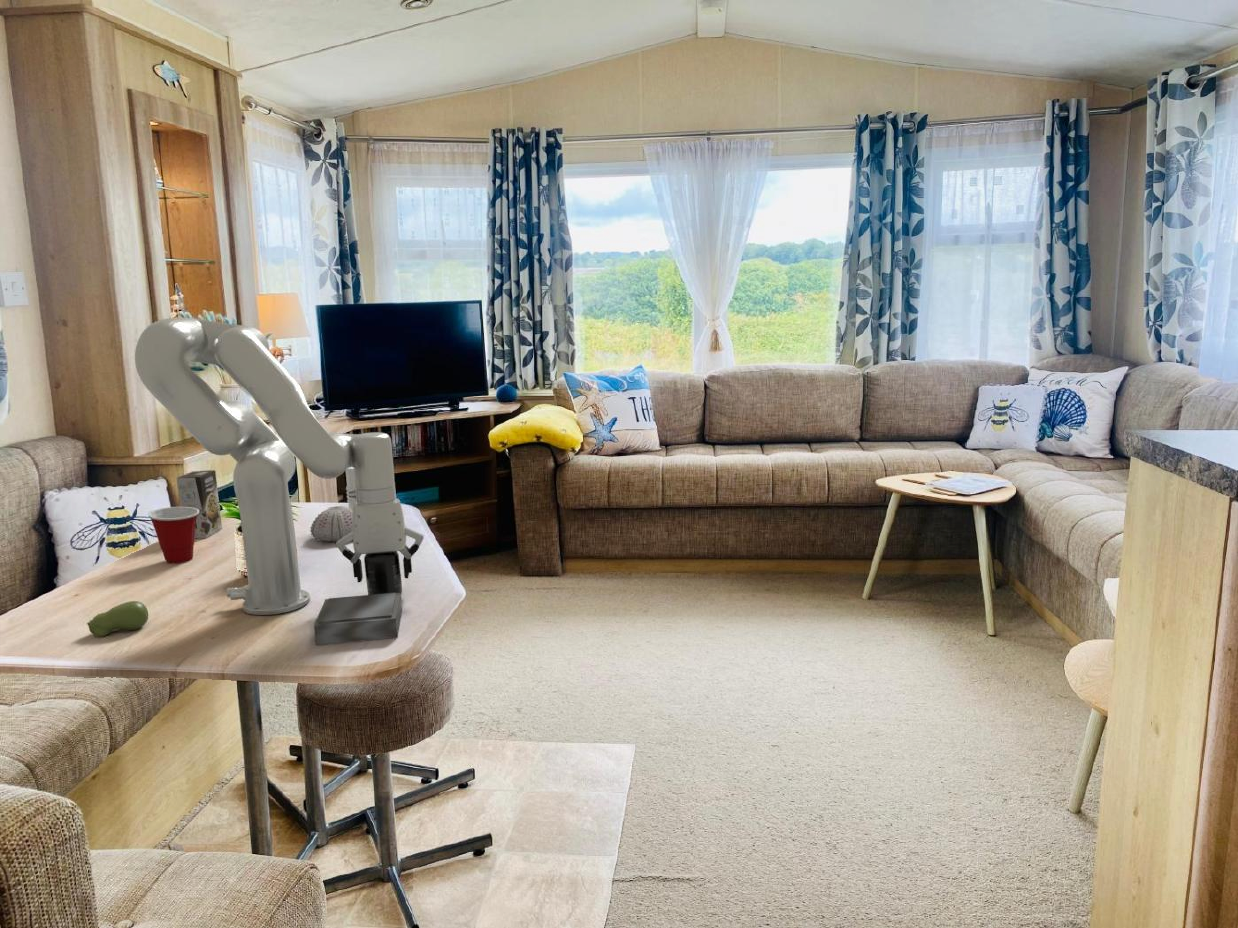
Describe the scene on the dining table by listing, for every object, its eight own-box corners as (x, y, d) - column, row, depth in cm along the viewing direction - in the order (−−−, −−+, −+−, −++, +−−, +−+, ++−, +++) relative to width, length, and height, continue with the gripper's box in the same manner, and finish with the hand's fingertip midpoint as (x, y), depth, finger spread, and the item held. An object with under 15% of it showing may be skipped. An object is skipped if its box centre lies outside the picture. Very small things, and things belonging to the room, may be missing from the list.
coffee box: (207, 538, 233) (200, 476, 230) (183, 539, 233) (175, 477, 230) (223, 528, 242) (216, 469, 239) (199, 529, 242) (192, 470, 239)
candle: (344, 523, 243) (339, 468, 240) (356, 517, 250) (351, 463, 247) (368, 523, 242) (363, 468, 239) (379, 517, 248) (374, 463, 246)
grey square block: (315, 645, 160) (313, 623, 159) (327, 617, 173) (325, 597, 172) (397, 637, 162) (395, 616, 161) (402, 610, 176) (400, 590, 175)
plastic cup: (186, 567, 208) (180, 517, 206) (144, 566, 210) (137, 516, 208) (215, 553, 219) (209, 505, 216) (174, 553, 220) (168, 504, 218)
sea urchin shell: (326, 530, 237) (323, 500, 235) (375, 531, 235) (372, 500, 234) (301, 545, 224) (298, 513, 223) (353, 545, 222) (350, 513, 221)
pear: (143, 602, 168) (83, 621, 164) (152, 628, 170) (93, 647, 166) (143, 593, 173) (85, 611, 169) (152, 618, 175) (94, 637, 171)
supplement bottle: (391, 587, 189) (386, 532, 187) (408, 594, 184) (404, 537, 182) (361, 596, 185) (356, 539, 182) (378, 603, 180) (373, 545, 177)
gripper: (328, 502, 175) (336, 588, 179) (420, 496, 178) (426, 580, 182) (333, 494, 183) (341, 576, 186) (421, 488, 185) (427, 569, 189)
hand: (383, 578), depth 184 cm, fingers open, 8 cm apart
